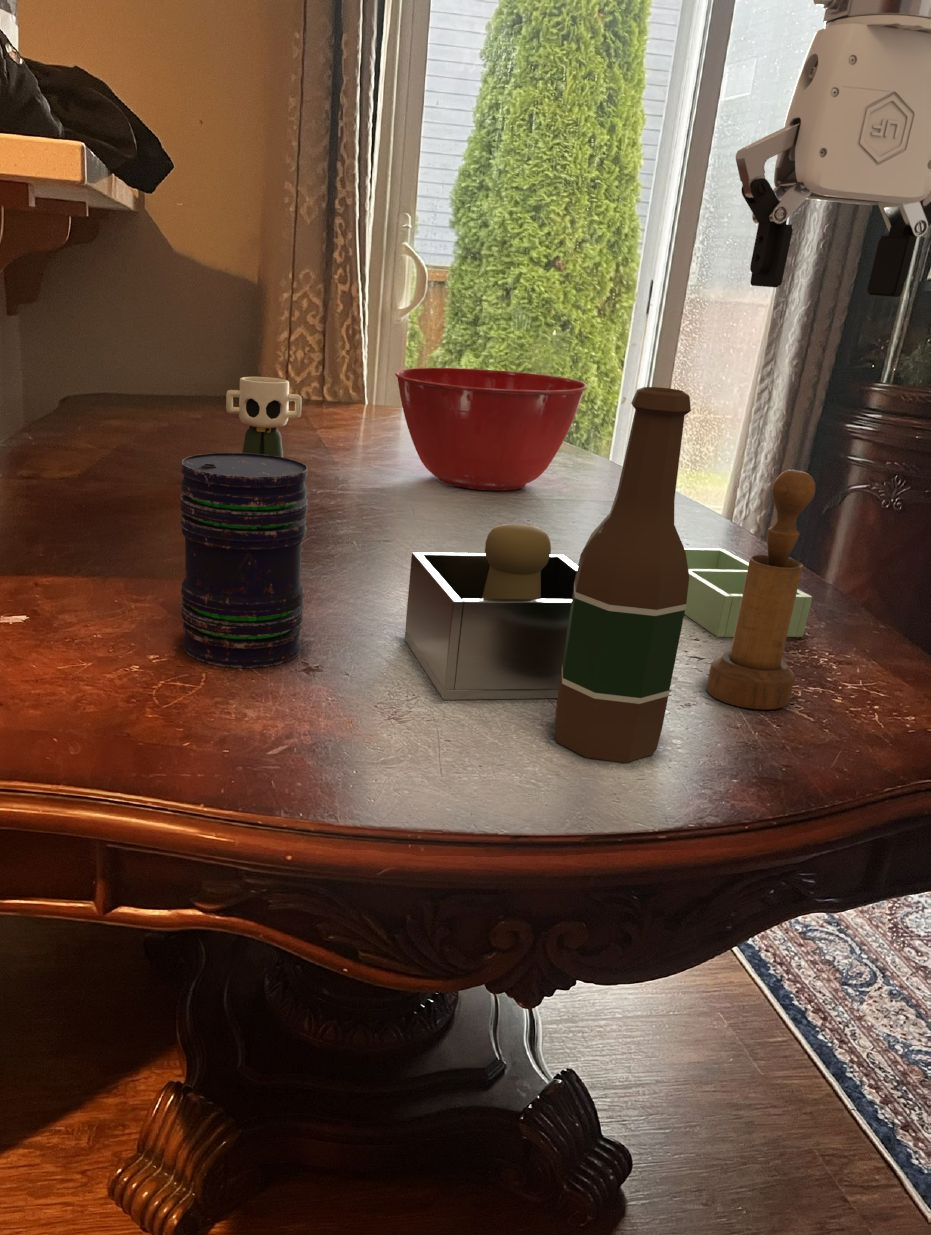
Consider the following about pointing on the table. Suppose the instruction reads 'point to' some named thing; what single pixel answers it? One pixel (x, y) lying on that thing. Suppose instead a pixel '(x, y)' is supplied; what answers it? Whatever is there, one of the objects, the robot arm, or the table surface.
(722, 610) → the divided storage box
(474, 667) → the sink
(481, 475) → the mixing bowl
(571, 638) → the beer bottle
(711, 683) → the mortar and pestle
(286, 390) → the character mug
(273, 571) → the oil drum
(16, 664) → the table surface
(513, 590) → the cork
